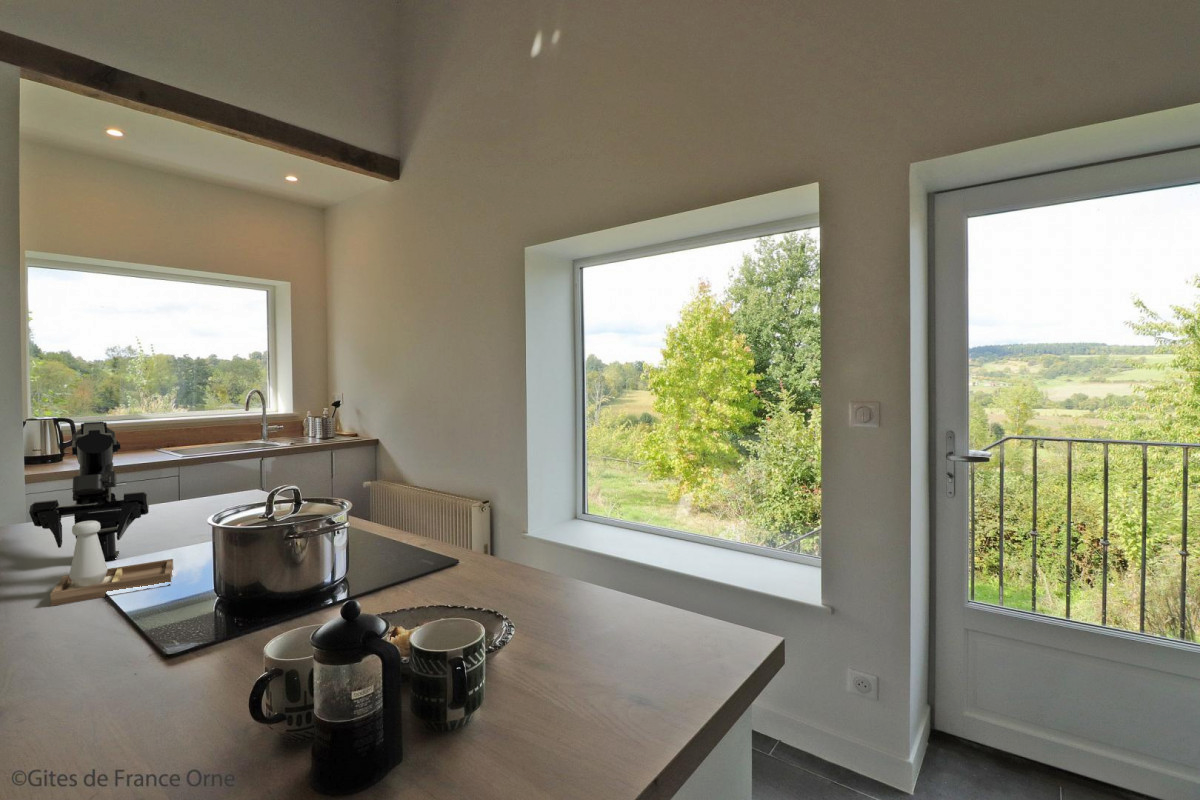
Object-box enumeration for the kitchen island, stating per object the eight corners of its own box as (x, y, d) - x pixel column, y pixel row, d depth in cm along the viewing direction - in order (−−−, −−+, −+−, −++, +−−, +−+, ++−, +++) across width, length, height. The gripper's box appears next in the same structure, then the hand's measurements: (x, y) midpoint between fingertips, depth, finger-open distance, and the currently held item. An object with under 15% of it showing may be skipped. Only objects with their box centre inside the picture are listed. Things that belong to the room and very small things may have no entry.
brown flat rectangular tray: (63, 586, 119) (63, 575, 119) (173, 569, 129) (172, 558, 129) (51, 606, 109) (50, 594, 109) (170, 585, 120) (170, 574, 119)
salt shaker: (111, 583, 117) (108, 521, 117) (73, 591, 113) (70, 527, 112) (103, 577, 121) (100, 516, 120) (67, 585, 116) (64, 522, 116)
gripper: (28, 463, 116) (17, 529, 108) (145, 455, 127) (142, 515, 118) (40, 494, 123) (30, 558, 115) (149, 484, 134) (147, 542, 125)
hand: (89, 542), depth 118 cm, fingers open, 9 cm apart
